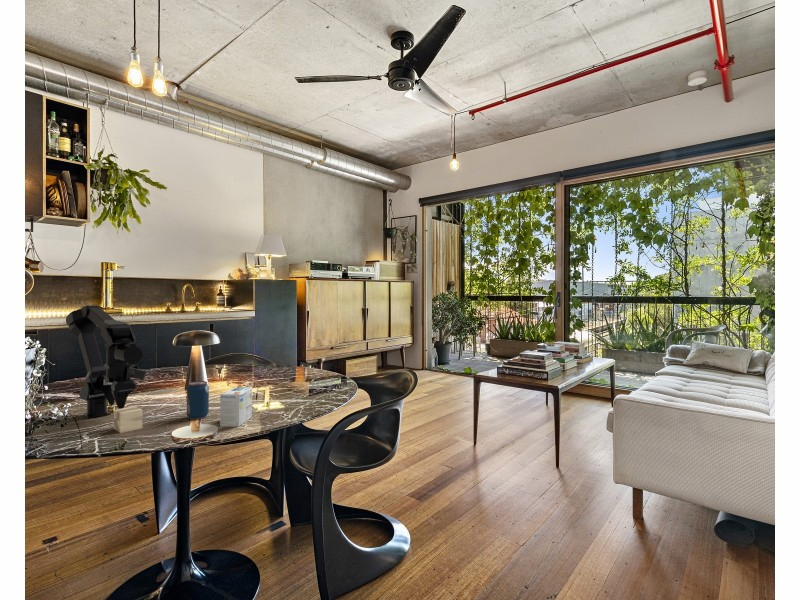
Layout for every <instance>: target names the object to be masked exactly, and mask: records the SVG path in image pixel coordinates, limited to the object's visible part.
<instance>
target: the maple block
mask: <svg viewBox="0 0 800 600" xmlns="http://www.w3.org/2000/svg"><path fill="white" fill-rule="evenodd" d="M113 429H114V430H115V431H117V432H118V433H120V434H122V433H123V434H124V433H126V432H131V431H135V430H139V429H140V430H141V429H143V409H142V408H140V407H138V406H136V405H134V406H128V407H124V408H122V409H118V408H117V409H114V410H113Z"/></svg>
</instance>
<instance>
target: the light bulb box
mask: <svg viewBox="0 0 800 600" xmlns="http://www.w3.org/2000/svg"><path fill="white" fill-rule="evenodd" d="M219 397H220V398H219V399H220V400H219V401H220V402H219V403H220V405H219V406H220V407H219V408H220V409H219V413H220V415H219V416H220V417H219V427H229V428H231V427H233V428H235V427H236V428H239V427H240V426H242V425H243V424H244V423H246V422H247V421H249V419H252V414H253V412H252V411H253V409H252V408H253V407H252V405H253V404H252V403H253V399H252V398H253V387H251V386H250V387H249V386H238V387H237V386H233V387H231V388H229V390H226V391H224V392H223V393H220V395H219Z"/></svg>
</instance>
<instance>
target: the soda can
mask: <svg viewBox="0 0 800 600" xmlns="http://www.w3.org/2000/svg"><path fill="white" fill-rule="evenodd" d="M209 400H210V386H209V384H208V382H207V380H206V381H205V380H200V381H198V380H197V381H191V382H189V383H188V386H187V388H186V416H187V418H188V419H189V420H201V419H204V418H206V417H208V414H209V413H210V412H209V411H210V407H209V405H210V401H209Z"/></svg>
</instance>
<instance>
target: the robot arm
mask: <svg viewBox="0 0 800 600" xmlns="http://www.w3.org/2000/svg"><path fill="white" fill-rule="evenodd" d="M65 323H66V325H67V326H68V329H69V331H70V332H71V333H72V334H73V335H75V336H76V337H77V339H78V343H79V345H80V346H79V347H80V350H81V353H82V355H81V356H82V358H83V362H84V365H85V369H86V372H87V374H86V376H85V377H84V380H83V386H82V387H81V389H80V391H79V393H78V394H79V399H80V400H82V401H84V402H85V401H86V412H84V413H83V414H82V415H83V416H84V417H85V418H87V419H91V418H93V419H94V418H98V417H102V416H108V415H111V414H112V413H111V412H110V411H108V405H109V406H113V405H114V403H115V405H116V406H117V409H122V408H125V405H126V403H127V400H128V397H129V395H130V394H131V393H132V392H134V391H135V390H136V389H137V388H138V387H137V386H138V382H137V381H135V380H134V379H137V380H139V381H144V379H145V377H146V375H147V370H143V369H140V368H139V366H138V365H137V363H139V362H140V361H141V360H142V359H143V358H142V357H143V352H142V349H141V348H140V347H138V346H137V337H136V336H135V334H134V332H133V330H132V329H133V328H132V327H131V326H130V324H129V323H127V322H124V321H121V320H117V319H115V318H113V317H112V316H111V315H110V314H108V313H107V311H105V310H104V309H103V307H102V306H101V305H97V304H94V305H93V304H92V305H91V304H90V305H89V304H86V305H83V306H82V307H81V308H78V309H75V310H73V311H72V310H71V312H70V313H68V314H67V315H66V317H65ZM97 327H98V328H99V329H100V330H101V333H100V336H101V337H102V338H103V340H104V341H105V344H104V345H103V346H104V347H105V348H106V354H105V356H106V358H105V362H106V363H103V359H102V356H101V352H100V349H99V346H98V342H97V339H96V335H95V329H96V328H97ZM135 364H136V365H135ZM131 378H133V379H131Z"/></svg>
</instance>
